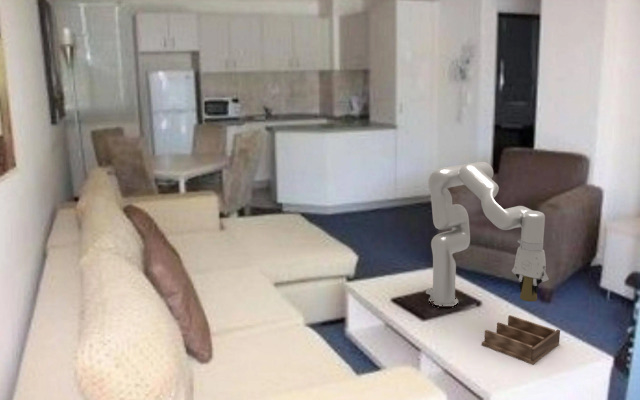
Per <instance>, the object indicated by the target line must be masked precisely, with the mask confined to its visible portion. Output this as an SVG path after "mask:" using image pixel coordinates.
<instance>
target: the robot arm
mask: <svg viewBox="0 0 640 400" xmlns="http://www.w3.org/2000/svg"><path fill="white" fill-rule="evenodd" d="M493 176H494V169H493V167H492V166H491V164H489V163H488V162H486V161H476V162H470V163H464V164H457V165H451V166H450V165H449V166H445V167H440V168H437V169H435V170H433V171H432V173H431V174H430V176H429V178H428V190H429V193H430V198H431V212H432V220H433V221H432V222H433V225H434V228H435V229H436V230H437V229H438V230H439V231H440V230H443V232H440V233H438V234H436V235H434V236H433V237H432V239H431V242H430V246H431V252H432V287H431V288H430V287H427V288H426V291H425V294H427V295H429V297H428V302H429V301H430V302H431V301H434V302H433V303H434V304H435V305H439V306H442V305H443V306H454V305H456V304H457V303H458V304H459V299H458V298H457V297H456V278H457V277H456V275H457V271H456V269H457V264H456V263H457V262H456V260H455V258H454V257H453V254H455V253H459V252H463V251H465V250H467V249H468V248H469V246H470V244H471V231H470V219H469V214H468V211H467V209H466V208H465V207H464V205H462V204H458V203H455V204H453V196H452V194H451V192H450V190H449V189H448V188H452V187H453V188H454V187H458V186H464V185H465V187H467V189H469V190H470V191H471V193H473V194H474V195H475V196H476V197H477V198H478V199H479V200H480V201H481V203H480V204H481V209H482V211H483V214H484V215H485V217H486V218H487V219H488V220H489V221H490V222H491V223H492V224H493V225H494V226H495V227H497V229H500V230H502V231H508V230H509V231H510V230H512V229H516V228H521V232H520V233H521V234H520V239H517V241H516V242H517V243H518V244H519V246H518V248H517V250H516V254H515V260H514V265H513V268H512V269H511V272H512V273H513V274H514V275H515V276H516V278H517V279H518V282H519V289H520V291H519V292H520V293H521V290H522V286H523V280H524V278H523V276H527V277H530V278H534V279H533V285H532V295H533V293H534V292H535V293H536V294H537V295H538V293H539V285H540V284H541V283H544V282H547V281H548V280H549V277H548V274H547V272H546V269H547V268H546V267H547V264H546V260H547V259H546V253H545V250H544V235H545V223H546V216H545V214H544V212H541V211H539V210H532V209H531V208H528V207H526V206H524V205H517V206H513V207H509V208H505V209H504V208H503V207H502V206H501V205H499V203H498V202H496V200H495V199H494V198H495V197H496V196H497V195H498V193H499V189H500V187H499V185H498V183H496V182H495V181H494V180H493ZM448 229H451V230H448ZM445 230H448V231H445ZM455 298H456V299H455ZM430 299H431V300H430Z"/></svg>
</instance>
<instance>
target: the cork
mask: <svg viewBox="0 0 640 400" xmlns="http://www.w3.org/2000/svg"><path fill="white" fill-rule="evenodd" d="M523 278H524V280H523V286H522V290H521V292H520V295H519V298H520V300H522V301H524V302H531V303H533V302H536V301H538V293H537V294H536V293H535V292H534V293H533V295H532V285H533V279H534V278H530V277H527V276H523Z"/></svg>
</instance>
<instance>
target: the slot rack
mask: <svg viewBox="0 0 640 400" xmlns="http://www.w3.org/2000/svg"><path fill="white" fill-rule="evenodd" d="M507 317H508V318H507V324H504V323H502V322H496V332H494V331H491V330H489V329H485V330H484V339H483V341H481V346H482V347H485V348H488V349H491V350H494V351H496V352H499V353H501V354H504V355H507V356H509V357H512V358H514V359H518V360H520V361H522V362H525V363H528V364H531V365H535V364H536V363H537V362H538V361H540V360H541V359H542V358H543V357H545V356H547V354H549V353H550V352H551V351H553V350H554V349H555V348H557V347H558V346H559V345H560V337H561V330H560V329H553V328H551V327H547V326H544V325H541V324H538V323H536V322H532V321H529V320H527V319H526V320H525V319H523V318H519V317H518V316H517V317H516V316H513V315H508V316H507Z"/></svg>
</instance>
